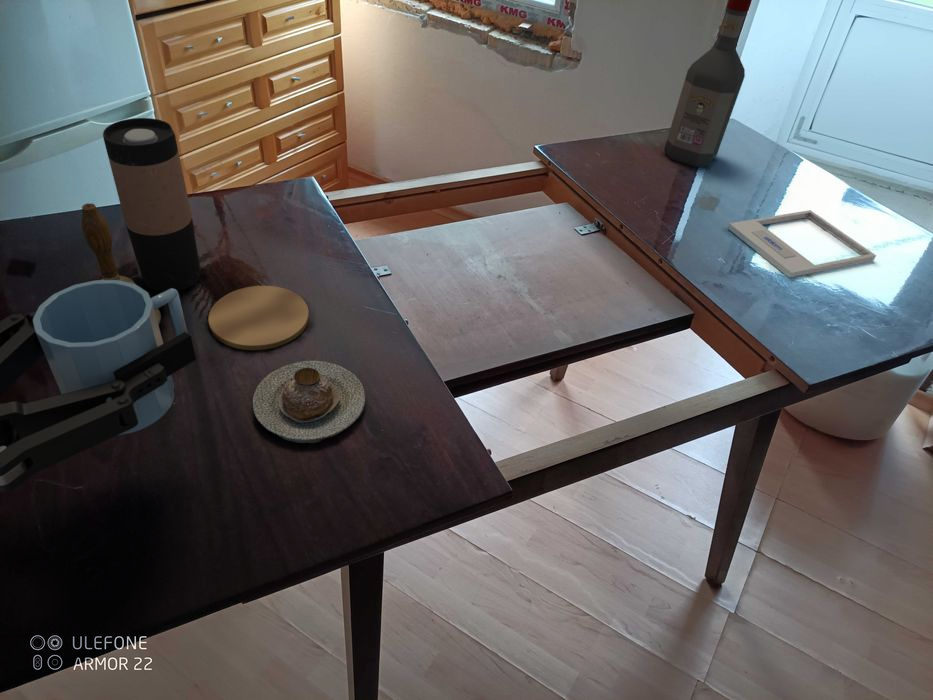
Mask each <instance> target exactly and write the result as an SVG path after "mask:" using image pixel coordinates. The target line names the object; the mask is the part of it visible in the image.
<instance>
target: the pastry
mask: <svg viewBox="0 0 933 700" xmlns="http://www.w3.org/2000/svg"><path fill="white" fill-rule="evenodd" d="M365 403H366V391H365V388H364V385H363V383H362V381H361V380H360V379H359V378H358V377H357V376H356V375H355V374H354V373H353V372H351V371H350V370H349V369H347V368H345V367H342V366H341V365H339V364H335V363H331V362H328V361H323V360H303V361H298V362H294V363H290V364H286V365H283V366H282V367H280V368H278V369H276V370H273V371H272V372H271V373H268V374H267V375H266V376H265V377H264V378H263V379H262V380H261V381H260V382H259V384H258V385H257V387H256V389H255V391H254V394H253V396H252V410H253V414H254V416H255V418H256V419H257V421H258V422H259V423H260V424H261V426H263V427H264V428H265V429H266V430H268V431H269V432H271V433H272V434H273V435H274V434H275V435H276V436H278V437H279V438H281V439H282V440H285V441H288V442H293V443H298V444H305V443H308V444H315V443H320V442H321V441H322V440H325V439H329V438H332V437H335V436H337V435H339V434H340V433H341V432H343V431H344V430H346V429H348V428H349V427H350V426H352V425H353V424H354V423H355V422H356V421H357V420H358V419H359V417H360V416H361V414H362V413H363V411H364V407H365Z"/></svg>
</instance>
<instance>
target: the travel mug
mask: <svg viewBox="0 0 933 700" xmlns="http://www.w3.org/2000/svg"><path fill="white" fill-rule="evenodd" d="M172 127H173V126H172V125H171V124H170V123H169V122H167V121H165V120H163V119H162V120H161V119H158V118H151V117H135V118H128V119H127V118H126V119H122V120H119V121H116V122H113V123H111V124H109V125H108V126H106V128H104V130H103V133H102V138H103V142H104V146H105V150H106V155H107V158H108V162H109V166H110V169H111V173H112V177H113V181H114V185H115V189H116V191H117V193H116V194H117V196H118V200H119V204H120V208H121V212H122V216H123V220H124V223H125V228H126V230H127V233H128V237H129V240H130V243H131V246H132V250H133V253H134V257H135V259H136V263H137V266H138V269H139V272H140V276H141V278H142V282H143V283H144V285H145V286H146V287H147V288H149V289H150V290H152V291H156V292H159V293H162V292H164V291H166V290H168V289H170V288H174V289H176V290H177V291H178V292H180V291H183V290H186V289H189V288H191V287H192V286H194V285H196V283H197V282H198V281H199V280H200V278H201V265H200V258H199V252H198V245H197V239H196V234H195V233H196V232H195V227H194V219H193V214H192V210H191V205H190V199H189V196H188V190H187V186H186V181H185V177H184V171H183V166H182V162H181V157H180V152H179V147H178V143H177V138H176V133H175V131H174V130H173V128H172Z"/></svg>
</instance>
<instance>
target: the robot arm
mask: <svg viewBox="0 0 933 700" xmlns="http://www.w3.org/2000/svg"><path fill="white" fill-rule="evenodd" d="M36 312H37V311H30V312H28V313H26V314H25V316H24V315H23V314H22V313H13V314H10V315H8V316H7V317H5V318H4V319H2V320H0V397H1V396H2V395H4V393H5V392H6V391H7V390H8V389H10V387H11V386H12V385H14V384H15V383H16V382H17V381H18V380H19V379H20V378H21V377H22V376H23V374H25V373H26V372H27V371H28V370H29V369H30V368H31V367H32V366H33V365H34V364H35V363H36V362H37V361H38V360H39V359H40V358H41V357H42V356H43V355H45V354H44V351H43V349H42V347H41V344H40V342H39V340H38V337H37V335H36V332H35V328H34V324H33V318H34V316H35V314H36ZM10 333H12V334H13V335H12V336H11V335H10ZM195 353H196V352H195V348H194V344H193V339H192V335H191V334H189V333H188V332H187V333H186V332H184V333H182V334H180V335H178V336H176V335H175V337H173V338H171V339H170V340H168V341H166V342H163V344H162V345H160V346H159V347H157V348H155V349H153V350H151V351H150V352H148V353H146V354H144V355H143V356H141V357H139V358H137V359H136V360H134V361H132V362H130V363H128V364H127V365H125V366H123V367H121V368H119V369H118V370H116V371H114V375H115V378H116V381H111V382H107V383H103V384H100V385H96V386H92V387H88V388H84V389H80V390H76V391H72V392H68V393H64V394H61V393H60V394H56V395H53V396H49V397H45V398H41V399H37V400H33V401H29V402H26V403H22V402H19V401H16V400H13V401H9V402H5V403H4V402H3V403H1V402H0V492H1V493H9V492H12V491H14V490H15V489H17V488H18V487H19V486H21V485H22V484H23V483H25V482H26V481H27V480H28V479H30V478H31V477H33V476H34V475H35V474H36V473H38V472H41V471H42V470H45V469H47V468H49V467H52V466H55V465H56V464H58V463H60V462H62V461H65V460H67V459H69V458H71V457H73V456H75V455H78V454H79V453H82V452H84V451H86V450H88V449H90V448H93V447H95V446H97V445H100V444H101V443H104V442H106V441H108V440H110V439H113V438H114V437H117V436H120V435H119V434H121V433H123V432H126V431H128V430H130V429H132V428H134V427H136V426H137V424H138V419H137V415H136V412H135V409H134V406H133V405H134V403H135V402H136V401H137V400H139V399H140V398H142V397H143V396H145V395H147V394H148V393H150V392H152V391H153V390H155V389H157V388H158V387H160V386H162V385H163V384H164V383H165V382H166V381H167V377H168V376H170V375H172V376H173V374H175V373H177V372H178V371H179V370H182V369H184V368H185V367H187V366H188V365H190V364H191V363H193V362H195V361H197V357H196V354H195ZM109 397H111V399H112V400H111V401H108V402H106V400H107V398H109ZM14 428H15V431H14Z"/></svg>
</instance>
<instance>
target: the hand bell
mask: <svg viewBox="0 0 933 700" xmlns="http://www.w3.org/2000/svg"><path fill="white" fill-rule="evenodd" d="M81 212H82V215H81V231H82V234H83V236H84V239H85V242H86V244H87V245H88V247H89V248H90V250H91V251H92V253H93V254H94V256H95V257H96V259H97V264H98V266H99V267H98V268H99V270H100V274H101V276H102V278H101V280H119V281H123V282H128V283H132V284H136V283H135V282H134V280H132V279H131V278H130V277H127V276H124V275H120V274H119V271H118V269H117V265H116V262H115V260H114V257H113V253H112V247H113V246H112V245H113V240H112V234H111V230H110V227H109V225H108V222H107V220H106V219H105V216H103V214H102V213H101V212H100V211H99V210H98V208H97V205H96V204H95V203H92V202H91V203H88V202H87V203H85V204H83V205H82V206H81ZM155 314H156V318H157V322H158V325H160V323H161V320H162V315H161V312H160V310H159V308H157V309H155Z"/></svg>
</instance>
